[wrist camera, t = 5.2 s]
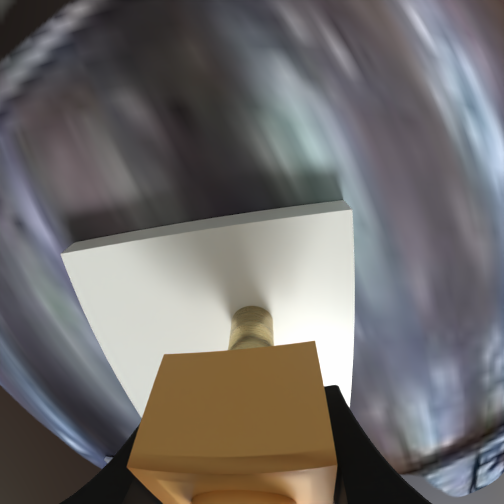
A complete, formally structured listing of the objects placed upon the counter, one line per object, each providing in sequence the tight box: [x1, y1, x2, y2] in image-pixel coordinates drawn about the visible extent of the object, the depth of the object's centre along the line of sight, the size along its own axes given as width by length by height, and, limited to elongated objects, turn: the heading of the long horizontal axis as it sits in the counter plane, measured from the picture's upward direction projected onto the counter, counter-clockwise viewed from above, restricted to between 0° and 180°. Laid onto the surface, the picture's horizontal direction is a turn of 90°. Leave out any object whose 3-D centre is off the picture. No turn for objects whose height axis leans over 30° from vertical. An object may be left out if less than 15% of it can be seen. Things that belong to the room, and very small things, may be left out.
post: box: [228, 306, 274, 350], centre depth 14 cm, size 2×2×4 cm
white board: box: [61, 200, 355, 418], centre depth 18 cm, size 18×14×2 cm
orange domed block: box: [127, 341, 337, 504], centre depth 8 cm, size 5×5×6 cm
